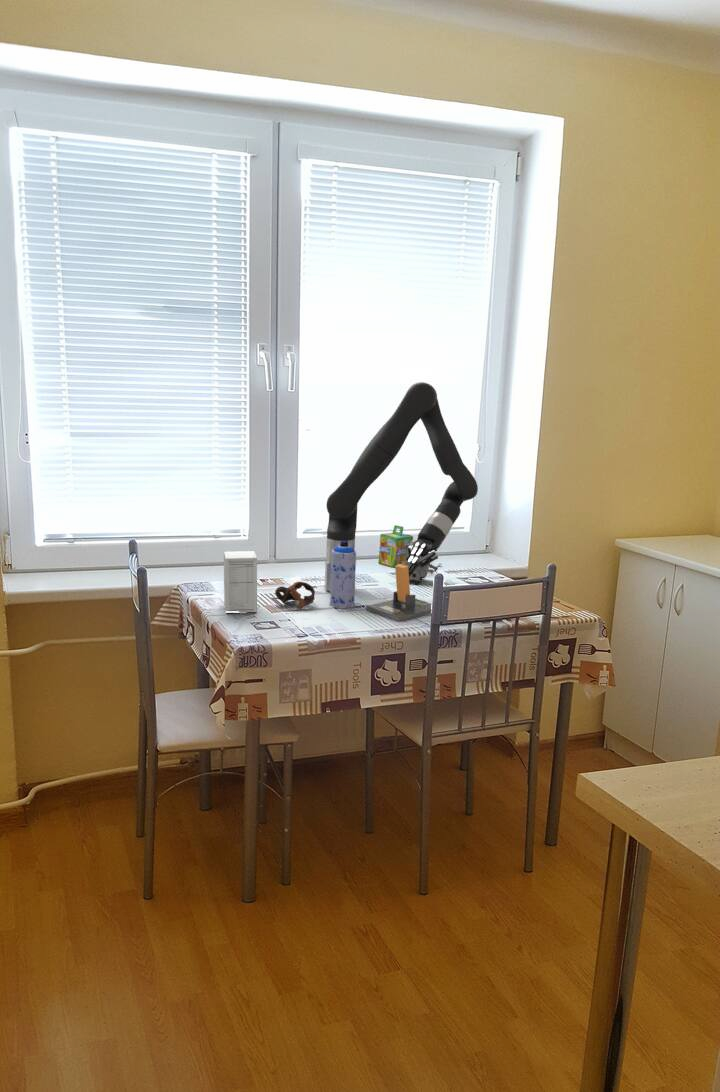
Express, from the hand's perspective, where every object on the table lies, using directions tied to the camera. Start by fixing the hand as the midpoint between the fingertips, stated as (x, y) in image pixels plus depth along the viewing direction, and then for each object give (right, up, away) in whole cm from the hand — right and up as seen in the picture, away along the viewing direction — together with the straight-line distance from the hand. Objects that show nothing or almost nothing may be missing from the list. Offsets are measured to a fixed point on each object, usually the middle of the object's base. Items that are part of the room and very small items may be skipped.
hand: (406, 574), depth 241 cm
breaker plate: (-1, -11, +2) cm, 11 cm away
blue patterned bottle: (-19, -10, +7) cm, 23 cm away
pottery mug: (-34, -10, +4) cm, 36 cm away
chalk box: (-1, +1, +63) cm, 63 cm away
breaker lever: (0, -8, +2) cm, 8 cm away
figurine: (+8, -4, +38) cm, 39 cm away
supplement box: (-49, -10, -2) cm, 51 cm away
